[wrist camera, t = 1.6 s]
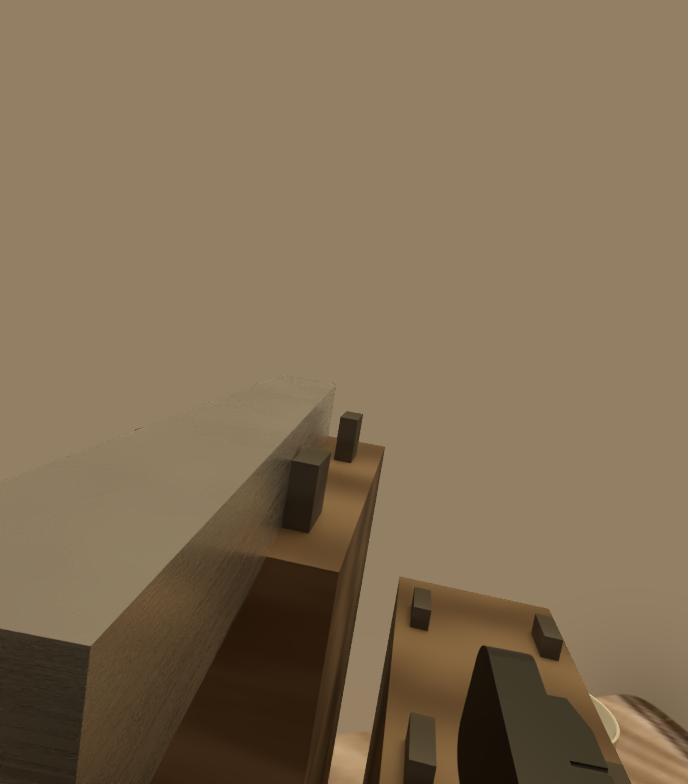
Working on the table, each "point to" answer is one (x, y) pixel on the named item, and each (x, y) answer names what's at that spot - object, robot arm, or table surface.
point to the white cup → (607, 721)
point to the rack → (332, 649)
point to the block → (137, 578)
